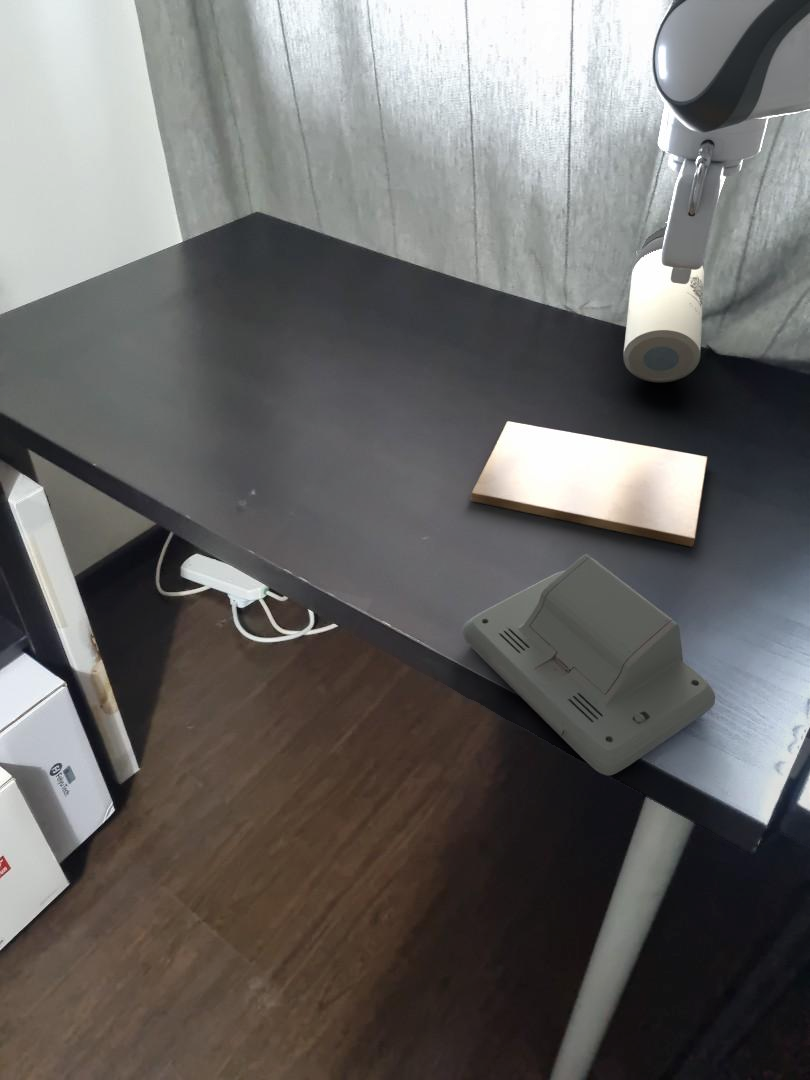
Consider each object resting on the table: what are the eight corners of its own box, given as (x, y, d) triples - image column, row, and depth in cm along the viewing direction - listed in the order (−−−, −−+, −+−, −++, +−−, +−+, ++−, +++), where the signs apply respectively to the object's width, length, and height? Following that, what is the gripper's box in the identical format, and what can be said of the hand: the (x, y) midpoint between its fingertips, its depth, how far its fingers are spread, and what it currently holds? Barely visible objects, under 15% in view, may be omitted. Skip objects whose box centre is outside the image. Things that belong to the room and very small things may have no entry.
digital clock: (560, 568, 68) (463, 651, 66) (557, 514, 60) (447, 606, 59) (715, 712, 60) (610, 810, 59) (735, 672, 53) (614, 783, 51)
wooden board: (705, 464, 81) (707, 456, 80) (692, 547, 71) (695, 538, 71) (506, 428, 86) (507, 420, 85) (470, 501, 77) (471, 492, 76)
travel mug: (608, 353, 90) (621, 242, 99) (649, 394, 94) (658, 284, 103) (673, 321, 84) (681, 207, 93) (714, 366, 88) (718, 253, 97)
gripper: (744, 165, 65) (704, 328, 74) (754, 102, 79) (720, 244, 88) (661, 157, 66) (633, 318, 75) (686, 97, 81) (660, 237, 90)
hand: (680, 277), depth 82 cm, fingers closed
